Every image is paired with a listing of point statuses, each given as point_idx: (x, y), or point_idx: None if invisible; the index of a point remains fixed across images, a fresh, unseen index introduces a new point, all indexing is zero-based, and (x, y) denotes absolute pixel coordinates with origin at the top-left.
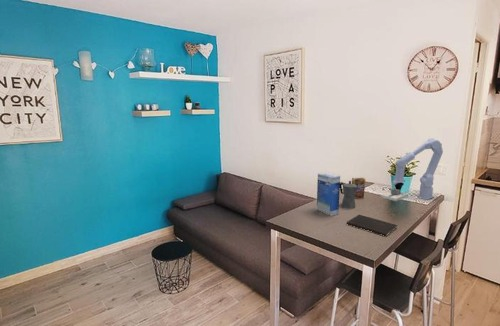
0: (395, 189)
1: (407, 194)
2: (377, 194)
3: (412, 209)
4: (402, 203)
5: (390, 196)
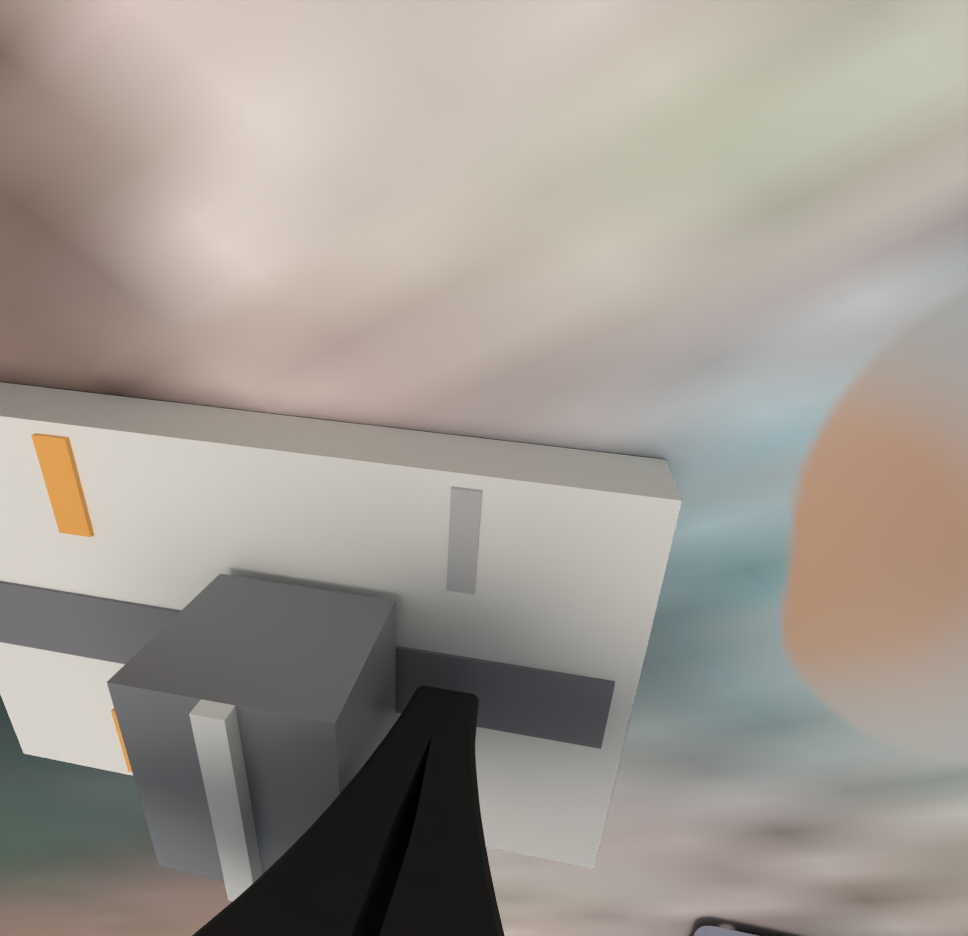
0: (210, 804)
1: (575, 859)
2: (68, 125)
3: (27, 920)
4: (100, 802)
5: (15, 637)
